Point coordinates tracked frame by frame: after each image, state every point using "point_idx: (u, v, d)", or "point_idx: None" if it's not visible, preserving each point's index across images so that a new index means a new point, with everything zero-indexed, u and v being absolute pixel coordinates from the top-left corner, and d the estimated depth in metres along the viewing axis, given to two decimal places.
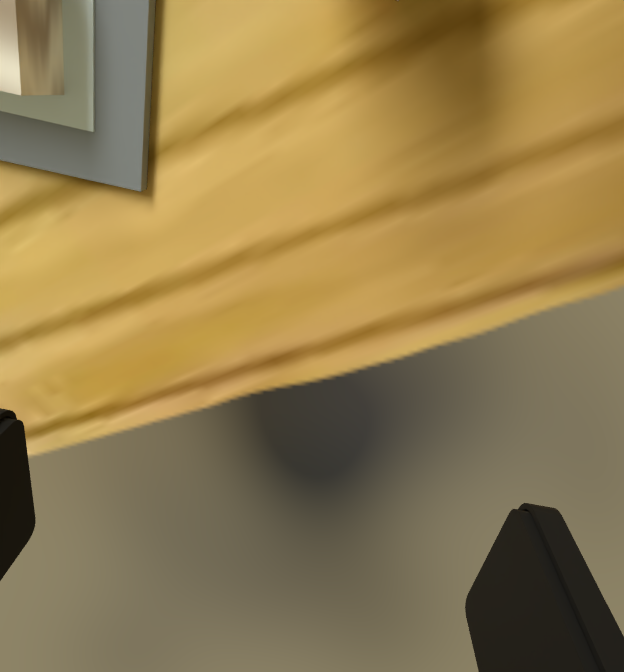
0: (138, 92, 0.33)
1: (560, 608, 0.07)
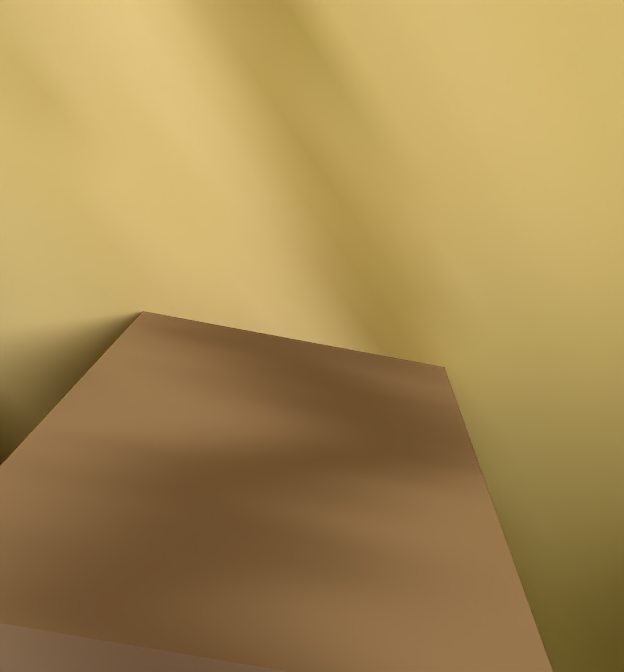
0: None
1: None
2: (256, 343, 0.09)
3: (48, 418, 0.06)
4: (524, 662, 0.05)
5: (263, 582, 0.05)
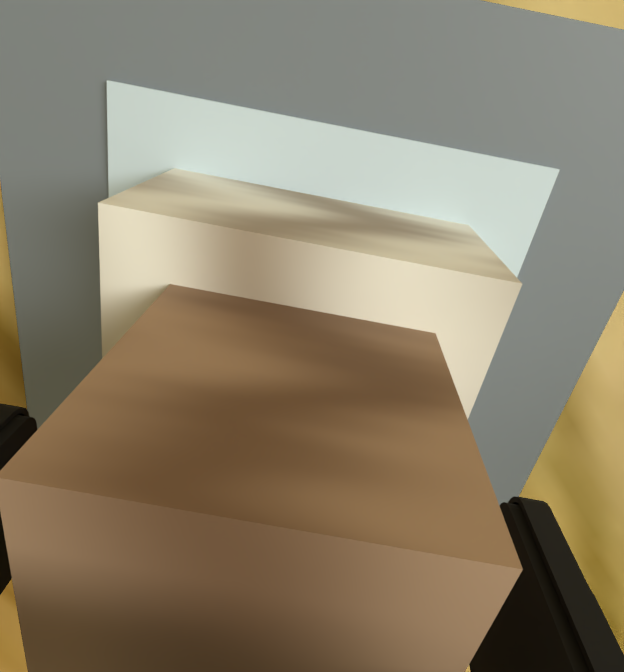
0: None
1: (546, 598, 0.07)
2: (270, 311, 0.10)
3: (102, 362, 0.08)
4: (490, 534, 0.06)
5: (285, 477, 0.06)
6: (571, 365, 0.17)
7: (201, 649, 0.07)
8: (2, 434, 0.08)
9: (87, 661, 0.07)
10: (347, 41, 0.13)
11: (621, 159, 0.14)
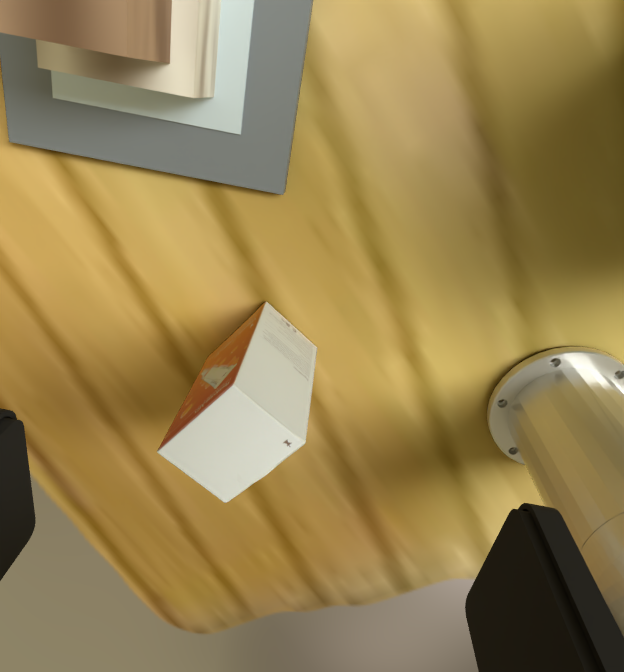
0: (101, 153, 0.35)
1: (560, 608, 0.07)
2: None
3: None
4: None
5: None
6: (300, 26, 0.30)
7: None
8: None
9: None
10: None
11: None
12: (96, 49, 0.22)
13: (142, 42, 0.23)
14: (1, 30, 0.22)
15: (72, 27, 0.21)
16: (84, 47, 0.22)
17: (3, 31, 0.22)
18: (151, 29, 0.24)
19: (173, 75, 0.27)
